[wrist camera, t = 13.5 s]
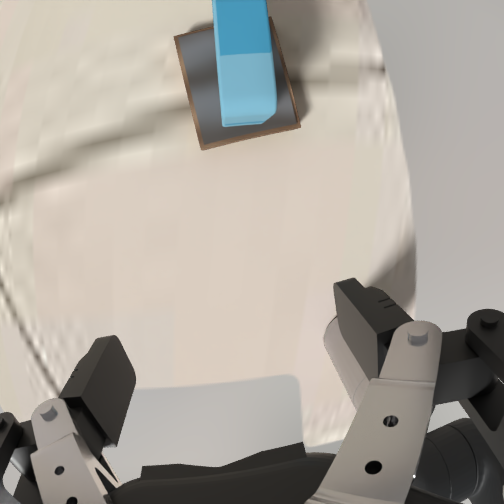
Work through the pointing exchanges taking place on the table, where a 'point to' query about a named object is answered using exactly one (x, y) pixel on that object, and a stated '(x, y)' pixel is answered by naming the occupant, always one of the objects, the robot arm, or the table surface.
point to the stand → (207, 91)
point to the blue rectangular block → (244, 62)
